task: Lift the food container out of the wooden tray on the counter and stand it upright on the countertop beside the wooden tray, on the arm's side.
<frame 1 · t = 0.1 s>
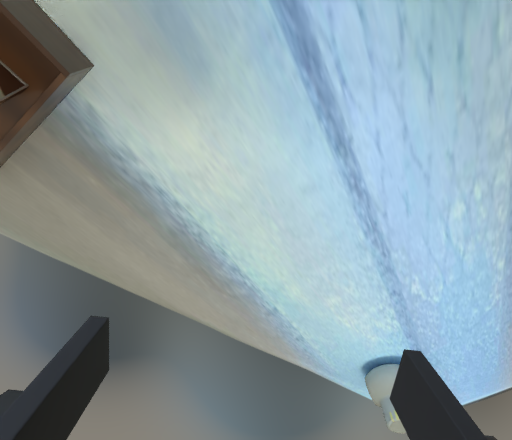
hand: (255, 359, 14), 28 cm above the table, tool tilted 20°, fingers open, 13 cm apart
air freshener: (387, 370, 63), on the table
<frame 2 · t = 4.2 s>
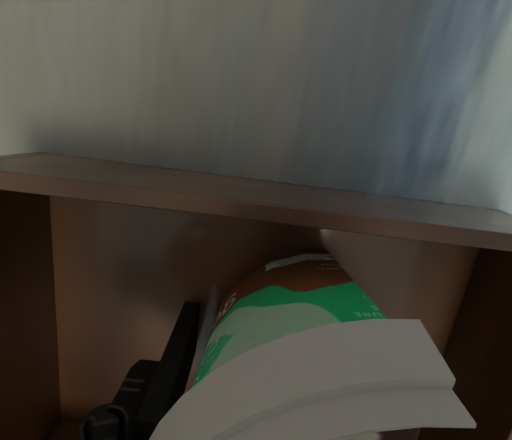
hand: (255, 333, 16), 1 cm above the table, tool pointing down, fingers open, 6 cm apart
wooden tray: (254, 326, 16), on the table
food container: (251, 326, 16), resting in wooden tray, touching gripper
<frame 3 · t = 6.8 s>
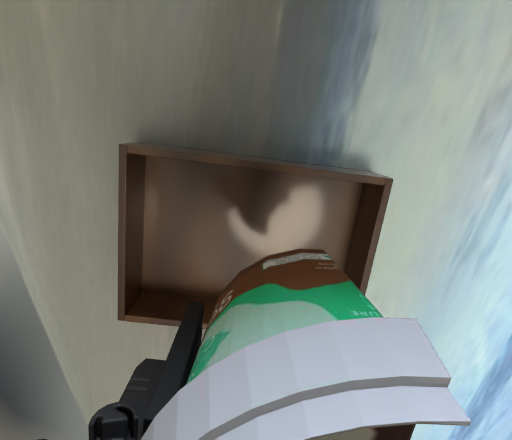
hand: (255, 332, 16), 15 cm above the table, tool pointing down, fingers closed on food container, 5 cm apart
wooden tray: (248, 235, 31), on the table
food container: (247, 324, 16), point 15 cm above the table, touching gripper
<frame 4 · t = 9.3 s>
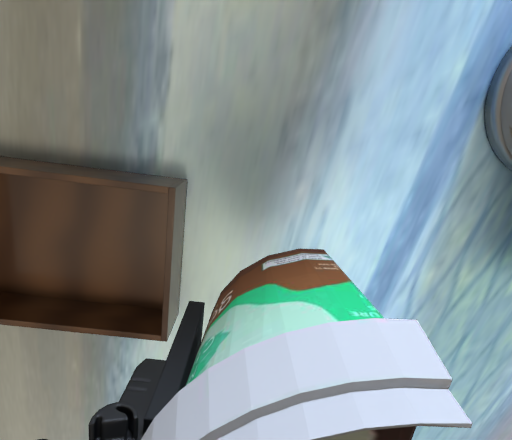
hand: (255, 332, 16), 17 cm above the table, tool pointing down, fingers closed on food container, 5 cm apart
wooden tray: (80, 239, 32), on the table
food container: (247, 325, 16), point 17 cm above the table, touching gripper
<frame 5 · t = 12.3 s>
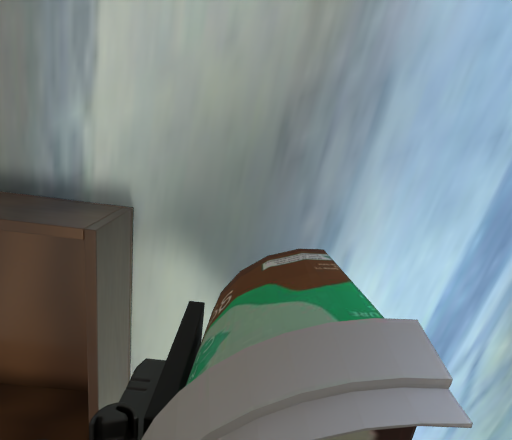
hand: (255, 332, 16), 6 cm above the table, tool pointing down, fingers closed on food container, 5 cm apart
food container: (247, 325, 16), point 5 cm above the table, touching gripper
when the fingers open (0 cm above the table, at t = 14.2 s): food container stays where it is, on the table.
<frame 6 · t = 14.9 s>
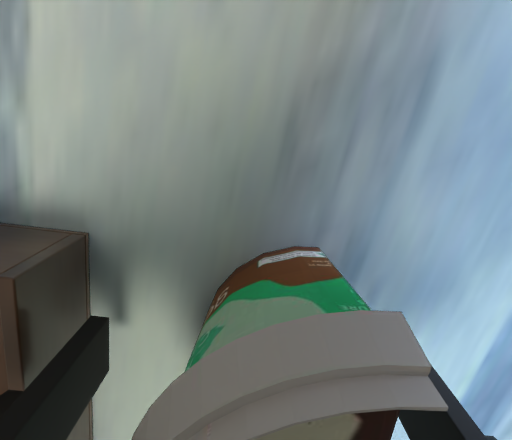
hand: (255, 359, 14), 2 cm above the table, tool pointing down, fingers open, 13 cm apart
food container: (243, 321, 16), on the table
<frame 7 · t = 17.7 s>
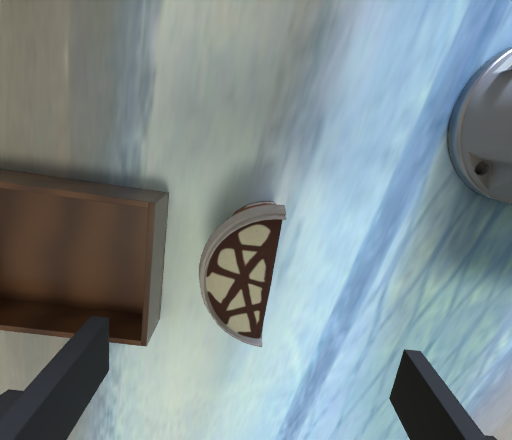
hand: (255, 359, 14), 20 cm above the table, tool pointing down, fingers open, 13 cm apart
wooden tray: (65, 247, 34), on the table
food container: (238, 238, 34), on the table
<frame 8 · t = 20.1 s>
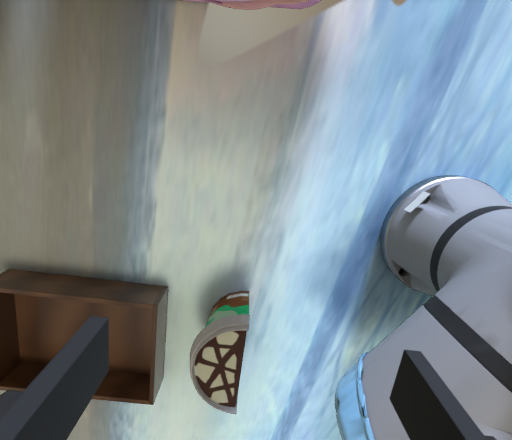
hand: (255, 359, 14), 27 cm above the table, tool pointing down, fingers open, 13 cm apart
wooden tray: (90, 326, 44), on the table
food container: (223, 317, 44), on the table
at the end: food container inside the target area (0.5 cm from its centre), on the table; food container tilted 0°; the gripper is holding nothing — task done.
